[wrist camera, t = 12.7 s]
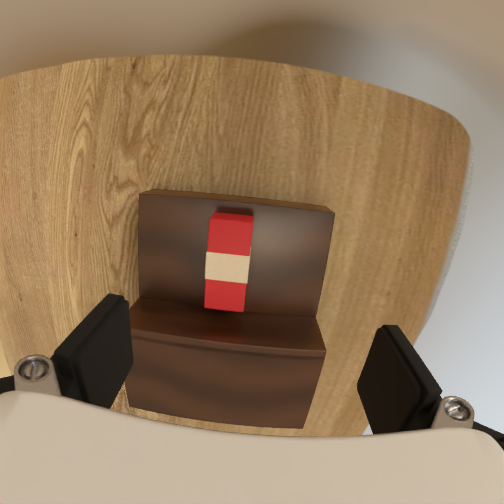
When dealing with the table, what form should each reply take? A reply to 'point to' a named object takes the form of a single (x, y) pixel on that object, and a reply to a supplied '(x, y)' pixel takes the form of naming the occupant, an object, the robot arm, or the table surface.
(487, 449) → the robot arm
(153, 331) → the step rack
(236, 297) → the rectangular block
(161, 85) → the table surface
